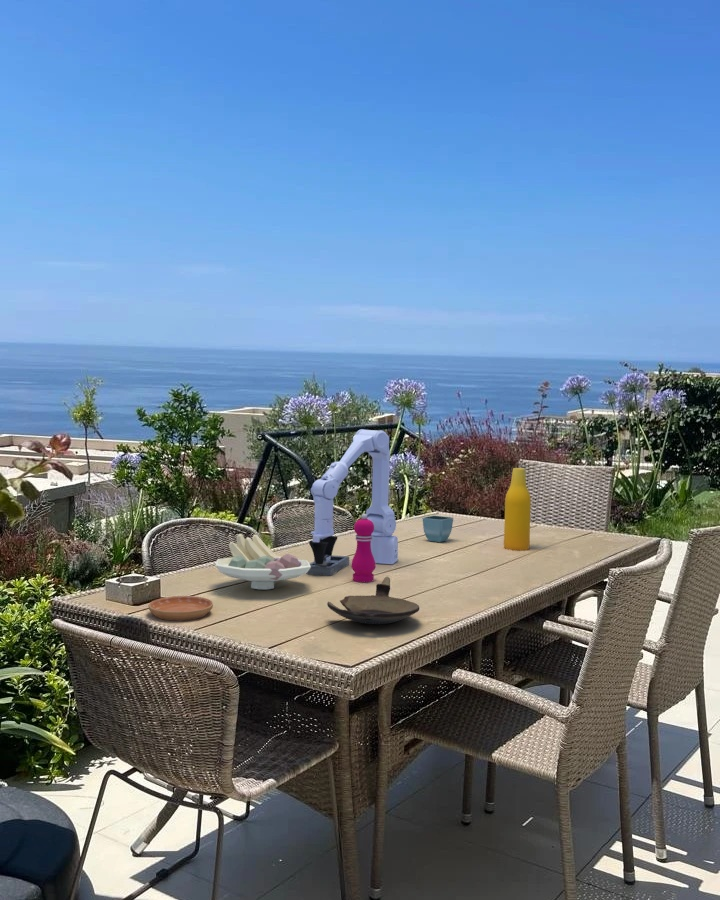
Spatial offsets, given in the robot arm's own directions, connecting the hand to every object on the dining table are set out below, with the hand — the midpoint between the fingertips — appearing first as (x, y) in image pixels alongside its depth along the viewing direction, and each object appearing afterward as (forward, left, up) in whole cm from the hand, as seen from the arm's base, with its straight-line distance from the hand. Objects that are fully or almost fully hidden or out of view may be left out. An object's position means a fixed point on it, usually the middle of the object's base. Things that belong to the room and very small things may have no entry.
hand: (323, 561), depth 281 cm
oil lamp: (-32, +49, -4) cm, 58 cm away
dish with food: (+9, +27, -3) cm, 28 cm away
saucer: (+17, +61, -4) cm, 63 cm away
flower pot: (-22, -68, -3) cm, 72 cm away
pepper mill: (-15, +7, -3) cm, 17 cm away
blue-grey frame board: (0, -5, -3) cm, 6 cm away
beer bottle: (-52, -64, -3) cm, 83 cm away
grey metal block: (0, 0, -3) cm, 3 cm away
